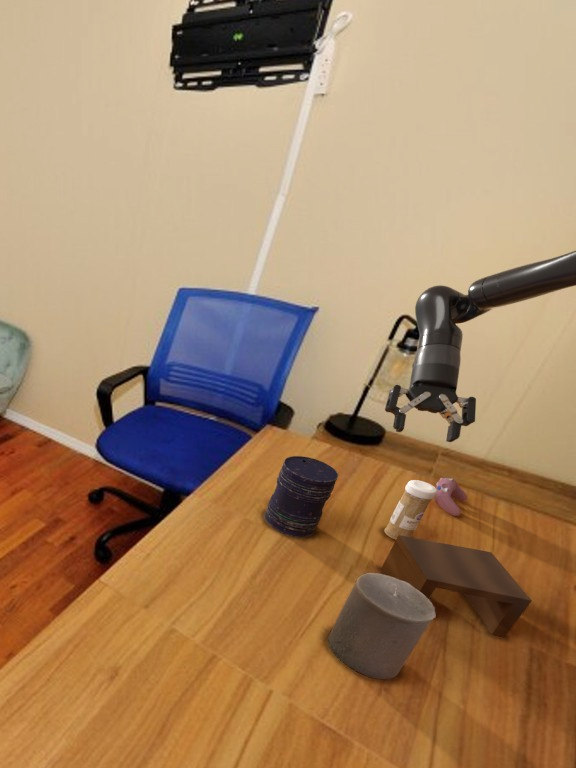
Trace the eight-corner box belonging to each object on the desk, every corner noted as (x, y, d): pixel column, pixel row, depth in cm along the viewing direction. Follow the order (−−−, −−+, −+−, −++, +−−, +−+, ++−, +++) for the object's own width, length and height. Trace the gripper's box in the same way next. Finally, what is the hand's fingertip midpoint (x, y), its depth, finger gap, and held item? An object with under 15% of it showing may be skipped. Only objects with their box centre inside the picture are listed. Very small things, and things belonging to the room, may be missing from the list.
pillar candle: (319, 650, 86) (351, 587, 79) (337, 619, 91) (368, 557, 84) (391, 692, 79) (433, 626, 72) (406, 656, 84) (446, 591, 78)
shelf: (468, 587, 97) (491, 552, 93) (504, 637, 87) (532, 600, 83) (380, 569, 102) (398, 534, 98) (405, 615, 92) (426, 579, 88)
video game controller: (442, 499, 124) (436, 472, 123) (468, 500, 120) (463, 472, 119) (433, 516, 118) (427, 488, 117) (461, 517, 114) (455, 489, 114)
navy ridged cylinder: (323, 539, 109) (349, 483, 102) (274, 535, 111) (296, 480, 104) (302, 510, 118) (323, 457, 111) (256, 507, 120) (275, 454, 113)
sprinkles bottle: (404, 545, 107) (432, 494, 101) (379, 533, 111) (404, 483, 105) (413, 537, 110) (441, 487, 103) (388, 525, 113) (413, 476, 107)
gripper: (401, 356, 113) (390, 422, 109) (488, 368, 106) (478, 439, 103) (388, 370, 119) (376, 433, 116) (469, 382, 113) (459, 449, 109)
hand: (424, 436), depth 109 cm, fingers open, 8 cm apart
